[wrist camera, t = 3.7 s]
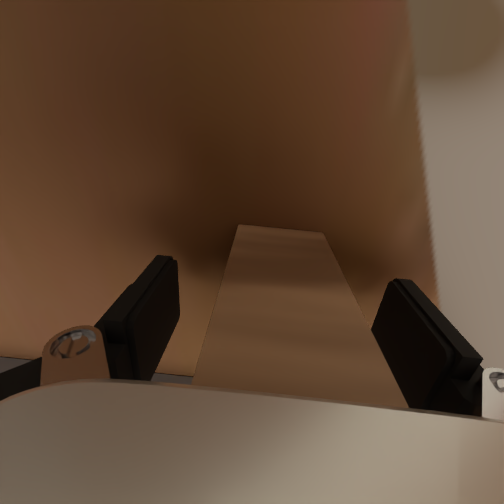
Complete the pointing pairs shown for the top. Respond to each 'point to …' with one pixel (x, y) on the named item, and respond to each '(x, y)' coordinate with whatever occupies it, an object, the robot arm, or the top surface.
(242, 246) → the peg
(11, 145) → the top surface
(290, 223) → the top surface
